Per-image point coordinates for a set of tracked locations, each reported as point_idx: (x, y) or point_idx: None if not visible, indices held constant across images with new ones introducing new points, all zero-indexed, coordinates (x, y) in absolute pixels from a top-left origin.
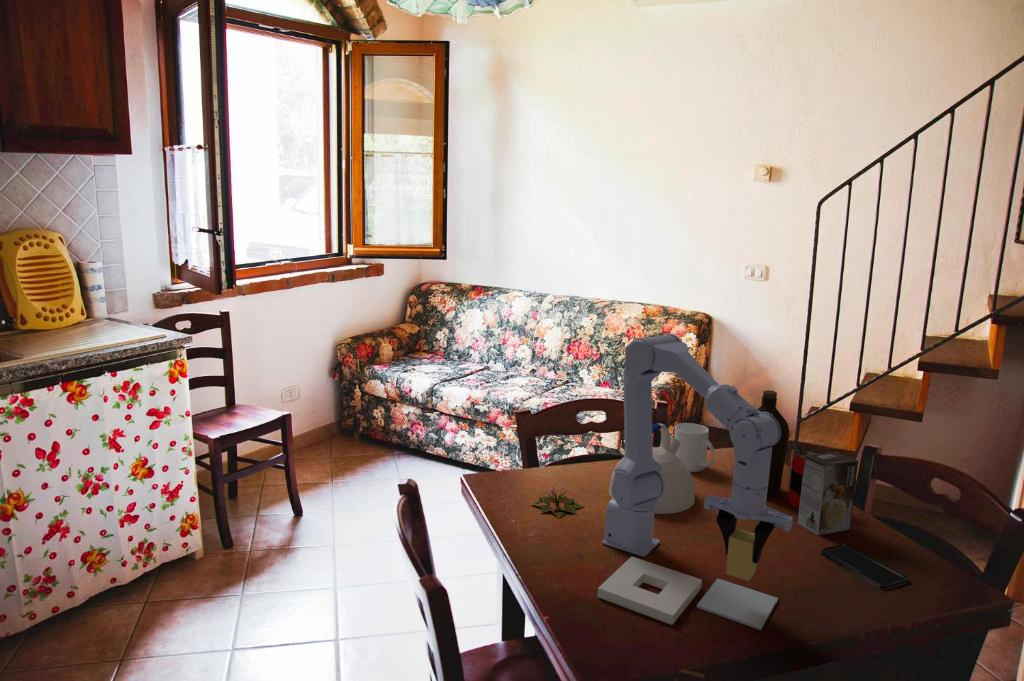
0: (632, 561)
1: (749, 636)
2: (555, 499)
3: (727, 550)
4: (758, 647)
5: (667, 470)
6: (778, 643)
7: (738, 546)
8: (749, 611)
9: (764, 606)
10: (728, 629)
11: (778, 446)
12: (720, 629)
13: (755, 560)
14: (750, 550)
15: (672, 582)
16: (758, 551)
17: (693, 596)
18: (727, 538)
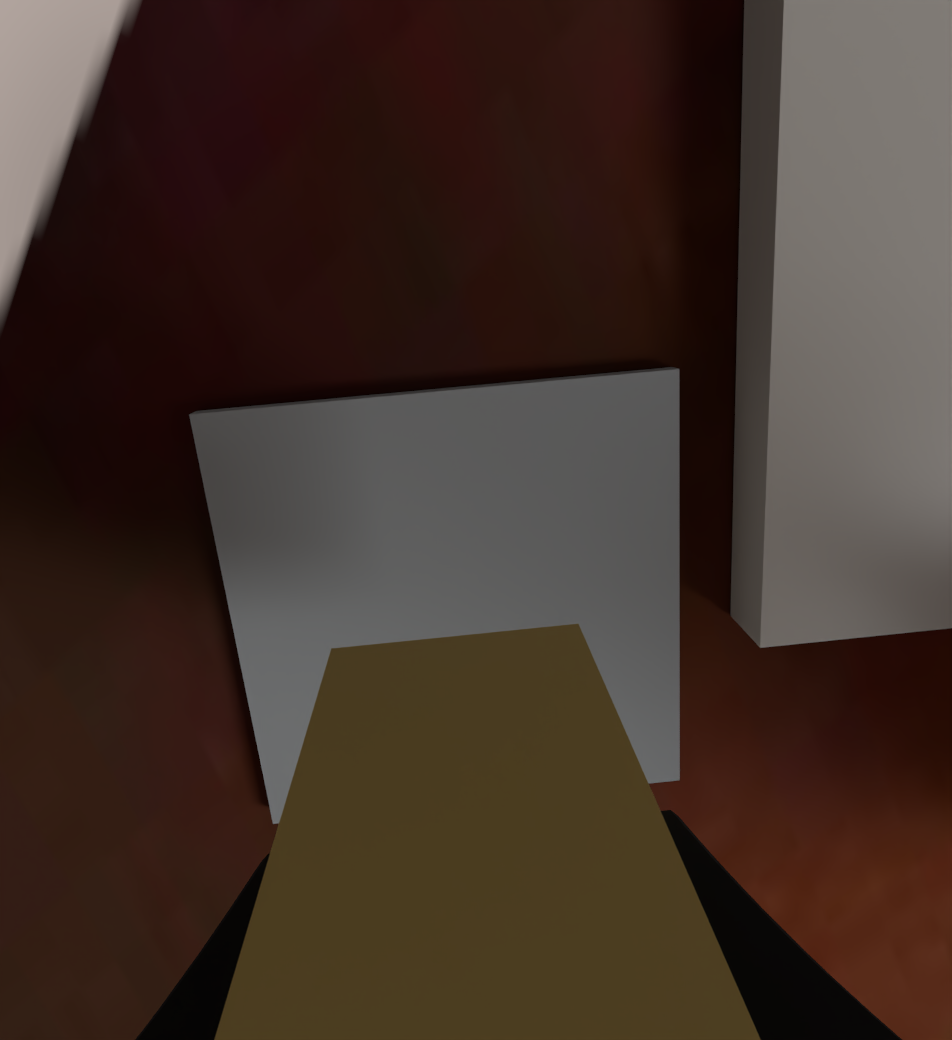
0: None
1: (218, 279)
2: None
3: (677, 846)
4: (101, 183)
5: None
6: (27, 342)
7: (508, 935)
8: (343, 553)
9: (294, 679)
10: (374, 257)
11: None
12: (420, 213)
13: (260, 876)
14: (268, 953)
15: (945, 458)
16: (164, 1021)
17: (740, 466)
18: (784, 1024)
